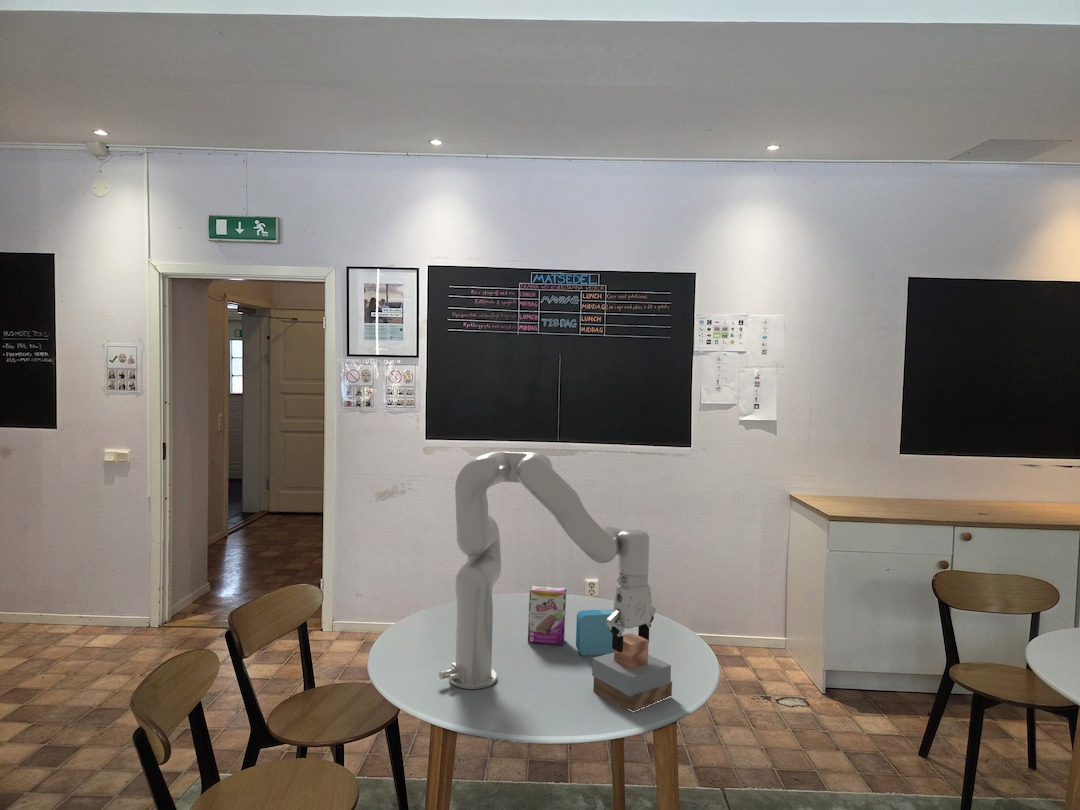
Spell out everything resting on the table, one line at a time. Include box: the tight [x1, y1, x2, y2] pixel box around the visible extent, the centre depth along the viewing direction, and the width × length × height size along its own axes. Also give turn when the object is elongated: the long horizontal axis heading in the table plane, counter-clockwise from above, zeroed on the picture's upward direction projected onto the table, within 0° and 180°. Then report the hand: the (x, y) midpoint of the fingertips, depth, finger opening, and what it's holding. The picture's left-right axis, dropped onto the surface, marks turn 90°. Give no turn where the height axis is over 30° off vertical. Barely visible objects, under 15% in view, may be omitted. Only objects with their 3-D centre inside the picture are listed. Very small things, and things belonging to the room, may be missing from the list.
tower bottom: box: [592, 676, 673, 711], centre depth 169 cm, size 14×14×4 cm
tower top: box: [591, 652, 672, 697], centre depth 169 cm, size 14×14×4 cm
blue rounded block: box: [575, 608, 620, 657], centre depth 196 cm, size 12×4×12 cm, turn 102°
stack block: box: [614, 632, 650, 669], centre depth 168 cm, size 6×6×6 cm
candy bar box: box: [527, 585, 567, 646], centre depth 203 cm, size 11×5×16 cm, turn 84°
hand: (630, 646), depth 168 cm, fingers open, 9 cm apart
